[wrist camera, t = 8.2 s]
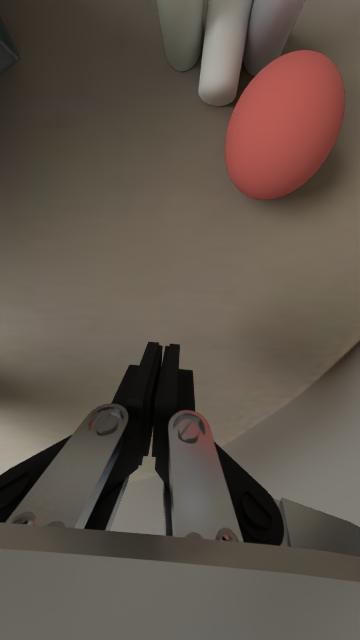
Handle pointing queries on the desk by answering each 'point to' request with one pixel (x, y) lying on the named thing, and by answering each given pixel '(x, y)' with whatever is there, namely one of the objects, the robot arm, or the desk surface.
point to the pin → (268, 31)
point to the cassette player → (6, 50)
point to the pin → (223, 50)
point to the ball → (284, 124)
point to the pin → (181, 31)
